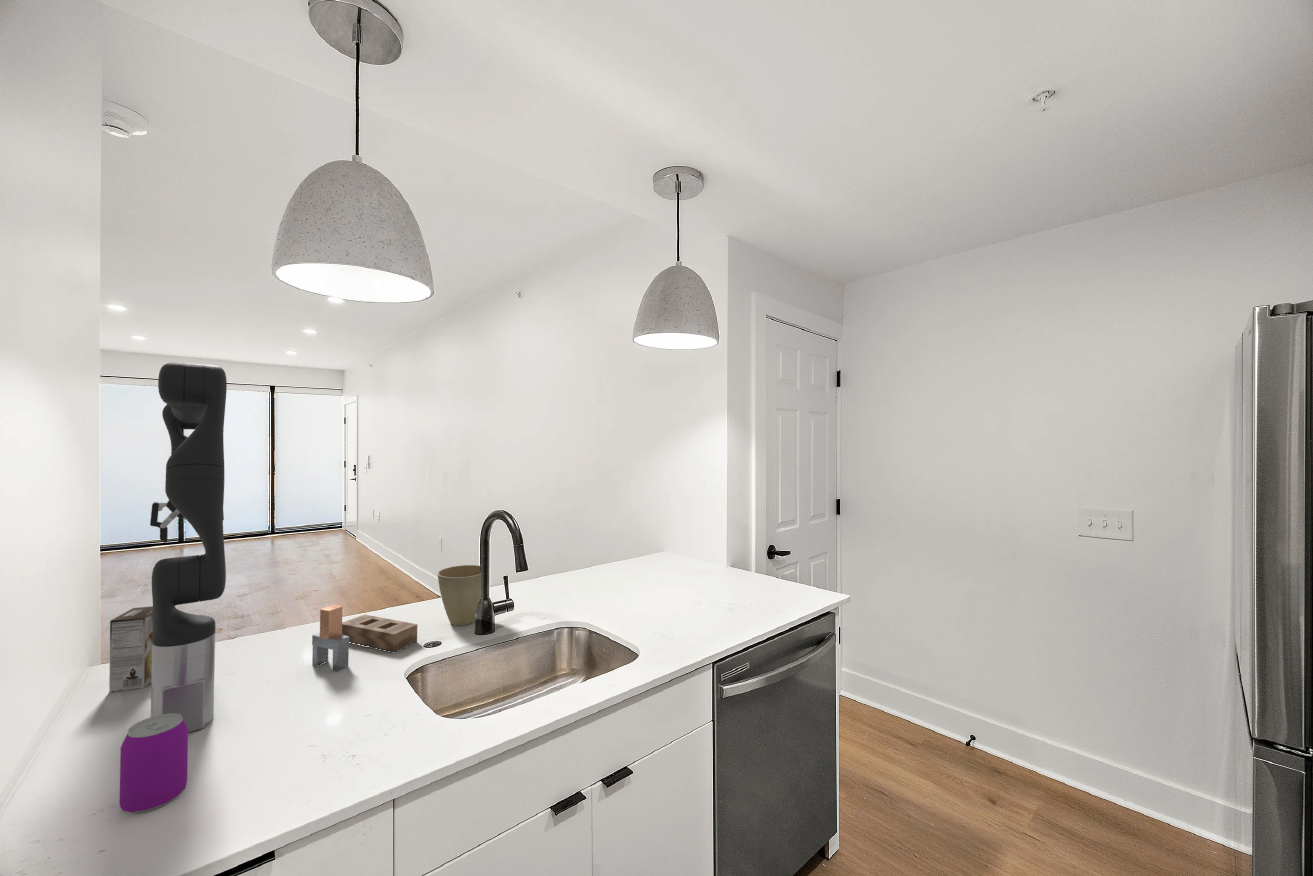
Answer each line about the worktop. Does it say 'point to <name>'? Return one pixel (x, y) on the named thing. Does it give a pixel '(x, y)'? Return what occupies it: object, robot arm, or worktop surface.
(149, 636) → the coffee box
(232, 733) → the worktop surface
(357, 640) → the slotted block
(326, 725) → the worktop surface
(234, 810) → the worktop surface
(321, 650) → the block on stand
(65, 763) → the worktop surface
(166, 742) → the beverage can
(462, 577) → the plant pot
